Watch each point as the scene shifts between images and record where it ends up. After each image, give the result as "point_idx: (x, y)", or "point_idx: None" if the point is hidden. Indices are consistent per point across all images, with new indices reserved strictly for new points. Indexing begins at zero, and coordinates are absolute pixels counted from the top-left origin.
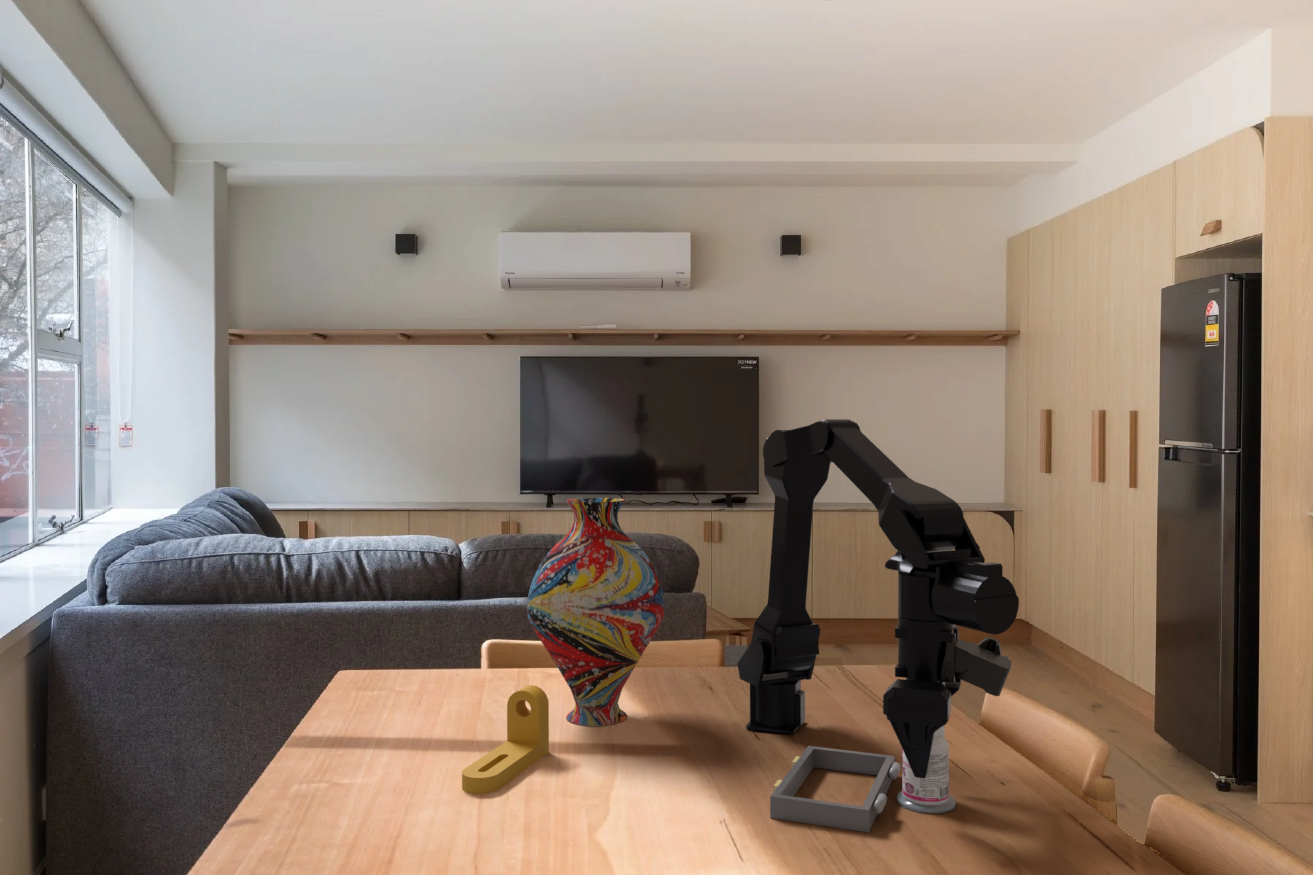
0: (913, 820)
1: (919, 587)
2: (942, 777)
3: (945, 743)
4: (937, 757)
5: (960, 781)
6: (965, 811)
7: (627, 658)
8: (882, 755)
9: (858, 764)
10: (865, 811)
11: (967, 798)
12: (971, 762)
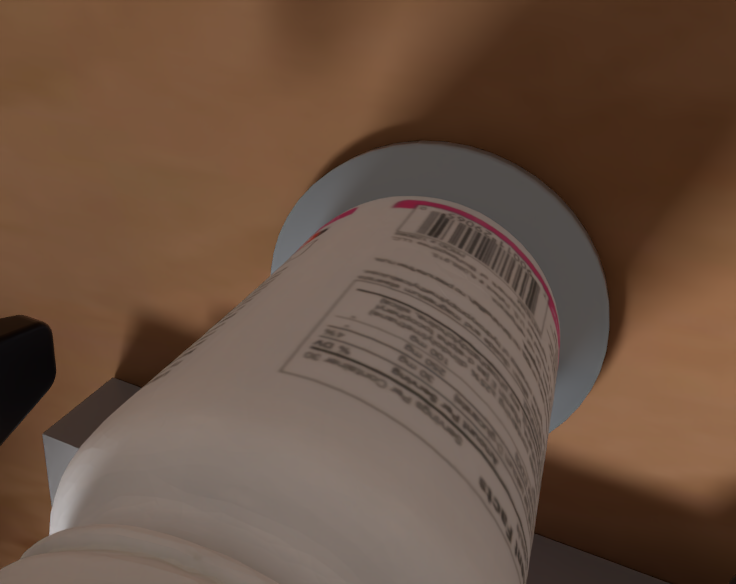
0: (728, 430)
1: None
2: (501, 333)
3: (338, 489)
4: (504, 505)
5: (63, 54)
6: (550, 87)
7: None
8: (59, 482)
9: None
10: None
11: (313, 43)
12: None
